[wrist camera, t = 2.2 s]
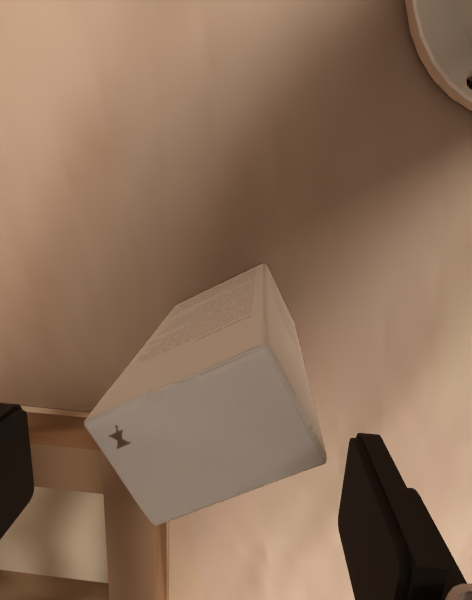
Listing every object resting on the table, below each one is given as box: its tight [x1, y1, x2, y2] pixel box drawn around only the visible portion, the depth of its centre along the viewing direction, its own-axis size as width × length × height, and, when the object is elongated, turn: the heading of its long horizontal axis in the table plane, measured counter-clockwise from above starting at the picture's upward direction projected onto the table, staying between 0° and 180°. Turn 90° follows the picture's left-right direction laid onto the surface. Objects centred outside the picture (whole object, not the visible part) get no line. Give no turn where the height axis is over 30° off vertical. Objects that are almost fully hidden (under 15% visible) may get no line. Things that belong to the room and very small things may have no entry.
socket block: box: [0, 406, 169, 600], centre depth 26 cm, size 16×17×4 cm
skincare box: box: [84, 263, 327, 525], centre depth 16 cm, size 6×4×12 cm
